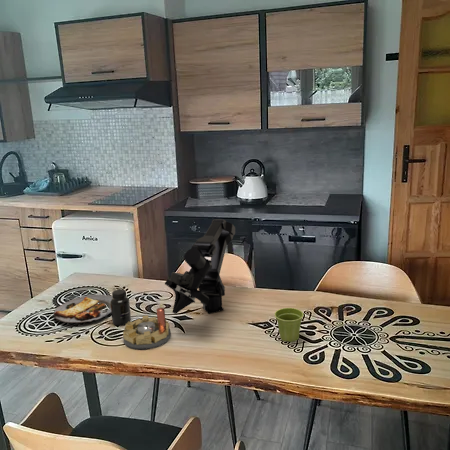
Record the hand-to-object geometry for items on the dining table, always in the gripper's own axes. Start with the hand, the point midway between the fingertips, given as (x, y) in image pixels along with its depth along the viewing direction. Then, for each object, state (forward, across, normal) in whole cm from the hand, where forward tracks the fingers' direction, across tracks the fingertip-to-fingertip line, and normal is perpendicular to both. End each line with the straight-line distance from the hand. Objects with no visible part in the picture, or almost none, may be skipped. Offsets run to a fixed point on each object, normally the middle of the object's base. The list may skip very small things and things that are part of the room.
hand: (173, 313), depth 154 cm
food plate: (+15, -41, -3) cm, 44 cm away
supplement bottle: (+12, -23, 0) cm, 25 cm away
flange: (+11, -6, 0) cm, 13 cm away
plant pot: (-12, +30, +24) cm, 40 cm away
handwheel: (+10, -6, -1) cm, 12 cm away
